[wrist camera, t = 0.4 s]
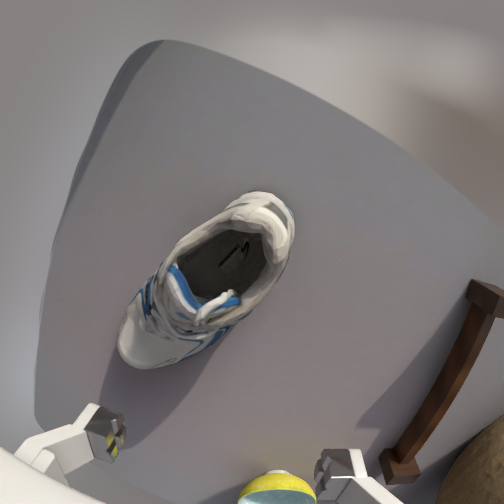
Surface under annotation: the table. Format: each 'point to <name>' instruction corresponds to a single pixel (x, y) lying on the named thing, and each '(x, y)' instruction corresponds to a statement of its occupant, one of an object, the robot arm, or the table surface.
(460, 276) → the table surface
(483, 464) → the basket
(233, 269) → the athletic shoe
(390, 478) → the wooden rail
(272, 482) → the bowl
